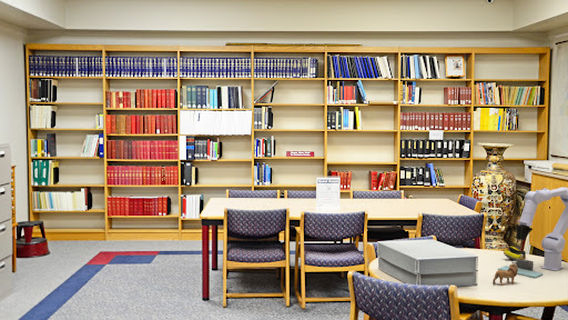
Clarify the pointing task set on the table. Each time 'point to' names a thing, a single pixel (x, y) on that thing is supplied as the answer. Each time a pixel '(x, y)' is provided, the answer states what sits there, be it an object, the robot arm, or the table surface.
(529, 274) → the desk mat
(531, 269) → the connector
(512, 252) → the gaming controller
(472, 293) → the table surface
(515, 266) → the lion figurine
